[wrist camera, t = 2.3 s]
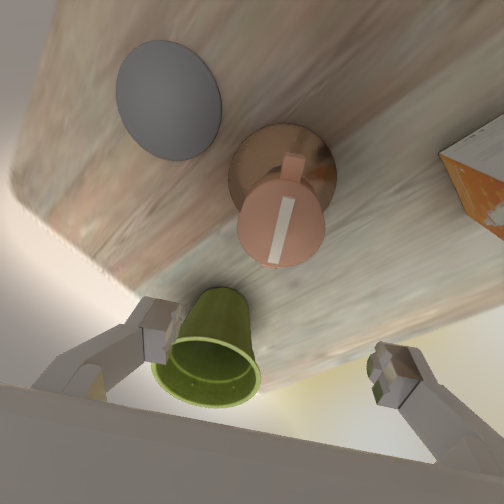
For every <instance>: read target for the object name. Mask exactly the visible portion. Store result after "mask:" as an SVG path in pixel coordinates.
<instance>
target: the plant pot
mask: <svg viewBox="0 0 504 504" xmlns="http://www.w3.org/2000/svg"><path fill="white" fill-rule="evenodd" d="M151 369H152V373H153V375H154V378H155V379H156V381H157V382H158V384H159V385H160V386H161V387H162V388H163V389H164V390H165V391H166V392H168V393H169V394H170V395H172V396H173V397H175V398H177V399H179V400H181V401H183V402H186V403H188V404H191V405H195V406H199V407H205V408H228V407H233V406H237V405H240V404H242V403H244V402H246V401H248V400H249V399H251V398H252V397H253V396H254V395H255V394H256V393H257V391H258V389H259V387H260V384H261V374H260V370H259V368H258V366H257V364H256V362H255V356H254V352H253V350H252V341H251V330H250V318H249V308H248V305H247V302H246V300H245V298H244V297H243V296H242V295H241V294H239V293H238V292H236V291H235V290H232V289H229V288H225V287H221V288H215V289H209V290H207V291H205V292H204V293H203V294H202V295H201V296H200V298H199V299H198V301H197V302H196V304H195V305H194V307H193V308H192V309H191V311H190V312H189V314H188V316H187V317H186V319H185V320H184V322H183V323H182V325H181V326H180V331H179V334H178V337H177V340H176V342H174V343H173V344H172V352H171V354H170V356H169V359H168V361H167V363H166V365H164V364H158V363H152V362H151Z"/></svg>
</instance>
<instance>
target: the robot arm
mask: <svg viewBox="0 0 504 504" xmlns="http://www.w3.org/2000/svg"><path fill="white" fill-rule="evenodd" d="M181 311H182V305H181V304H180V303H176V302H171V301H167V300H162V299H156V298H151V297H147V296H145V297H143V298H142V299H141V300H140V302H139V303H138V305H137V306H136V308H135V309H134V311H133V312H132V314H131V315H130V316H129V318H128V319H127V321H126V322H125V324H119V325H117V326H115V327H113V328H111V329H109V330H107V331H105V332H104V333H102V334H100V335H98V336H96V337H94V338H92V339H90V340H88V341H86V342H84V343H82V344H80V345H78V346H77V347H74V348H72V349H70V350H68V351H66V352H65V353H63V354H61V355H59V356H57V357H56V358H55V359H54V361H53V362H52V363H51V364H50V365H49V366H48V368H47V369H46V370H45V371H44V372H43V373H42V375H41V376H40V377H39V378H38V379H37V380H36V382H35V383H34V384H33V385H32V386H31V387H30V388H27V387H22V386H17V385H12V384H6V383H1V382H0V504H504V438H503V437H502V436H500V435H499V434H498V433H497V432H496V431H494V429H492V428H491V427H490V426H489V425H488V424H487V423H486V422H484V421H483V420H482V419H481V418H480V417H479V416H478V415H476V414H475V413H474V412H473V411H472V410H471V409H469V408H468V407H467V406H466V405H465V404H464V403H463V402H461V401H460V400H459V399H458V398H457V397H456V396H455V395H453V394H452V393H451V392H450V391H449V390H448V389H447V388H445V387H444V386H443V385H440V384H438V382H437V380H436V378H435V377H434V375H433V373H432V371H431V369H430V367H429V366H428V363H427V362H426V360H425V358H424V356H423V354H422V353H421V351H420V350H419V349H418V348H415V347H409V346H403V345H398V344H392V343H387V342H381V341H380V342H378V343H377V344H376V346H375V350H376V352H375V353H373V354H371V355H370V357H369V359H368V361H367V374H368V377H369V379H370V380H371V381H372V382H373V383H374V385H373V387H372V391H373V394H374V397H375V400H376V403H377V405H380V406H385V407H390V408H394V409H399V410H398V411H399V412H400V414H401V415H402V416H403V417H404V419H405V420H406V421H407V422H408V424H409V425H410V426H411V428H412V429H413V430H414V431H415V433H416V434H417V435H418V436H419V438H420V439H421V440H422V442H423V443H424V444H425V445H426V447H427V448H428V449H429V451H430V452H431V453H432V455H433V456H434V457H435V458H436V460H437V461H436V462H435V463H434V464H429V463H424V462H419V461H413V460H408V459H403V458H398V457H392V456H387V455H382V454H377V453H371V452H366V451H361V450H355V449H350V448H344V447H339V446H334V445H328V444H323V443H318V442H313V441H307V440H301V439H297V438H292V437H286V436H281V435H276V434H270V433H265V432H260V431H254V430H249V429H244V428H239V427H234V426H228V425H223V424H218V423H212V422H207V421H202V420H196V419H191V418H186V417H180V416H175V415H170V414H165V413H160V412H154V411H148V410H144V409H138V408H133V407H127V406H122V405H117V404H112V403H107V398H106V392H107V391H109V390H110V389H111V388H113V387H114V386H115V385H116V384H118V383H119V382H120V381H121V380H123V379H124V378H125V377H126V376H128V375H129V374H130V373H131V372H133V371H134V370H135V369H137V368H138V367H139V366H140V365H141V364H143V363H144V361H147V362H152V363H158V364H164V365H166V363H167V361H168V359H169V356H170V354H171V352H172V344H173V343H174V342H176V340H177V337H178V334H179V331H180V326H181V318H180V317H179V316H180V313H181Z"/></svg>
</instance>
